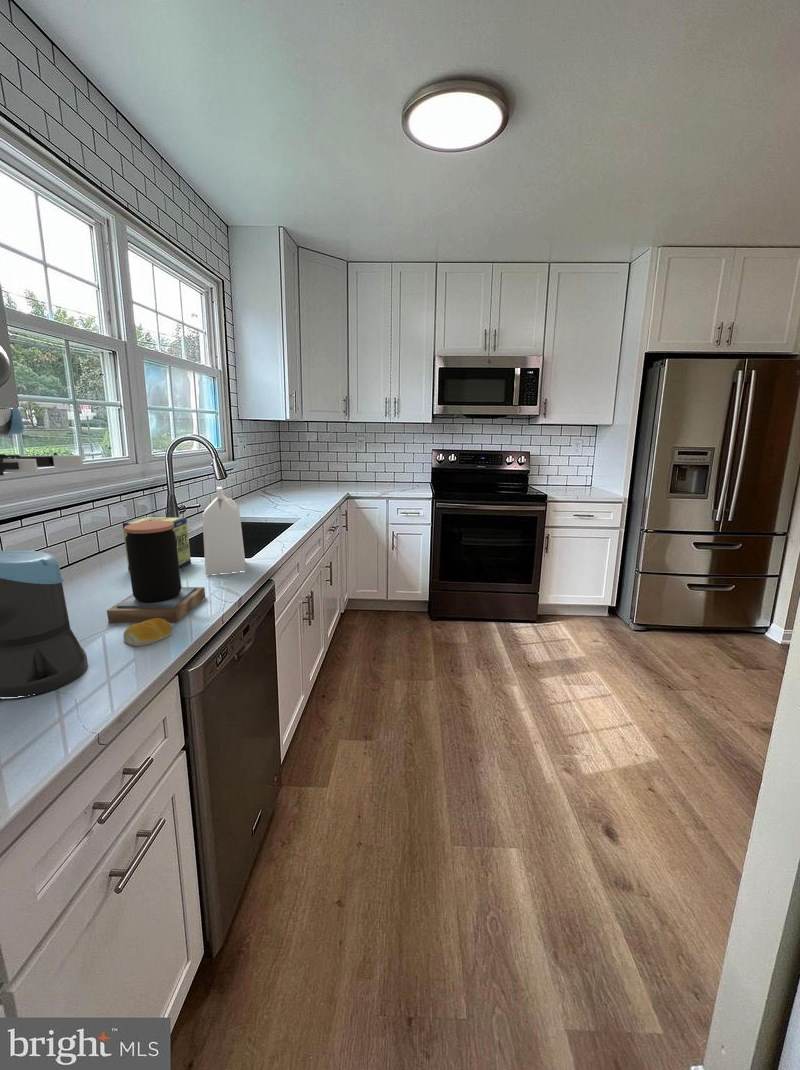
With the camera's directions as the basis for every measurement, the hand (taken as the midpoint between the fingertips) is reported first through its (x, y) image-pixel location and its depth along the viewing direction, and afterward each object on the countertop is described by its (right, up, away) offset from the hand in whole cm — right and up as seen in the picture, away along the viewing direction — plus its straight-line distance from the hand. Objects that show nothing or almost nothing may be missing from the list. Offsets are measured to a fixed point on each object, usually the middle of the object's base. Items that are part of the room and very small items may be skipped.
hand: (60, 463), depth 104 cm
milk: (+20, -27, +45) cm, 56 cm away
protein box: (-1, -27, +47) cm, 54 cm away
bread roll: (+21, -39, -3) cm, 44 cm away
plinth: (+16, -35, +12) cm, 40 cm away
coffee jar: (+16, -31, +11) cm, 37 cm away
